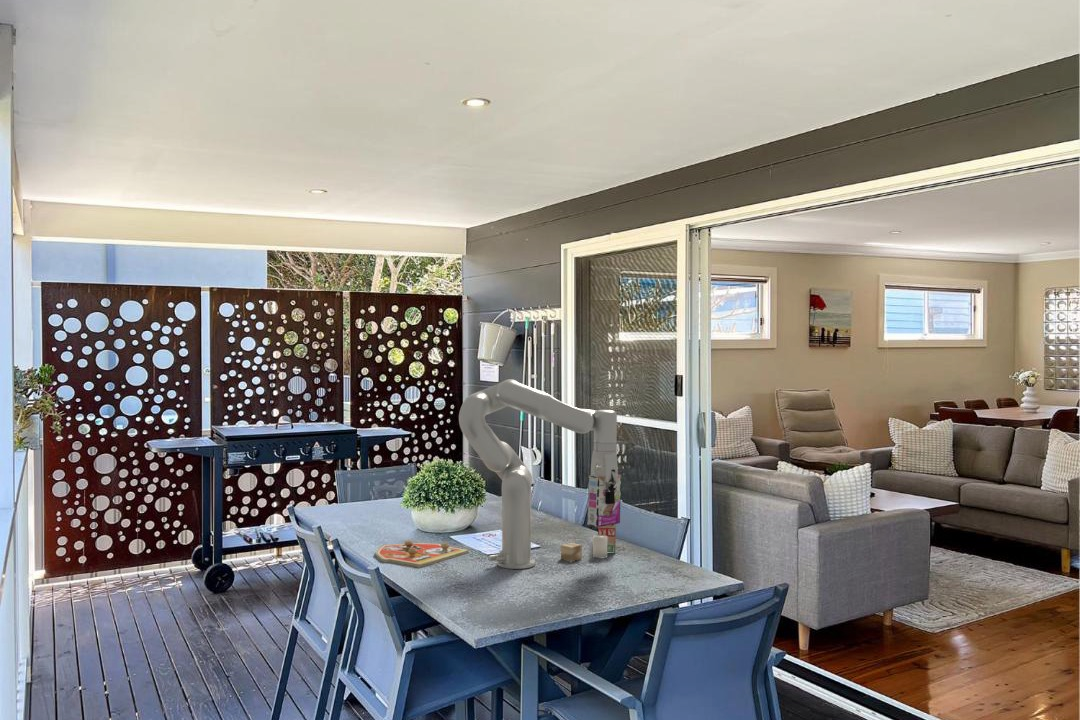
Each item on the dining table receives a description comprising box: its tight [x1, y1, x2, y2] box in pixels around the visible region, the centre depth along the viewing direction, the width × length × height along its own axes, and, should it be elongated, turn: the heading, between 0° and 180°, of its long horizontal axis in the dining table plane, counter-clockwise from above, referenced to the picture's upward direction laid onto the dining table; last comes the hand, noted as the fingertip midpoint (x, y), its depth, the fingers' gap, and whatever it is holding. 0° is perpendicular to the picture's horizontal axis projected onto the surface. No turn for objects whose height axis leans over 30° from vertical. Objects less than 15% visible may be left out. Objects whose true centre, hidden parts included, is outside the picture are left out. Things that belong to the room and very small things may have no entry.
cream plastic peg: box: [592, 534, 608, 558], centre depth 297 cm, size 5×5×7 cm
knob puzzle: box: [375, 539, 470, 569], centre depth 299 cm, size 29×30×4 cm
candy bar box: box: [586, 474, 622, 528], centre depth 283 cm, size 11×5×16 cm, turn 132°
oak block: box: [560, 542, 583, 562], centre depth 292 cm, size 5×5×5 cm
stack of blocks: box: [597, 524, 617, 554], centre depth 312 cm, size 21×6×12 cm, turn 176°
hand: (604, 501), depth 283 cm, fingers closed on candy bar box, 5 cm apart
